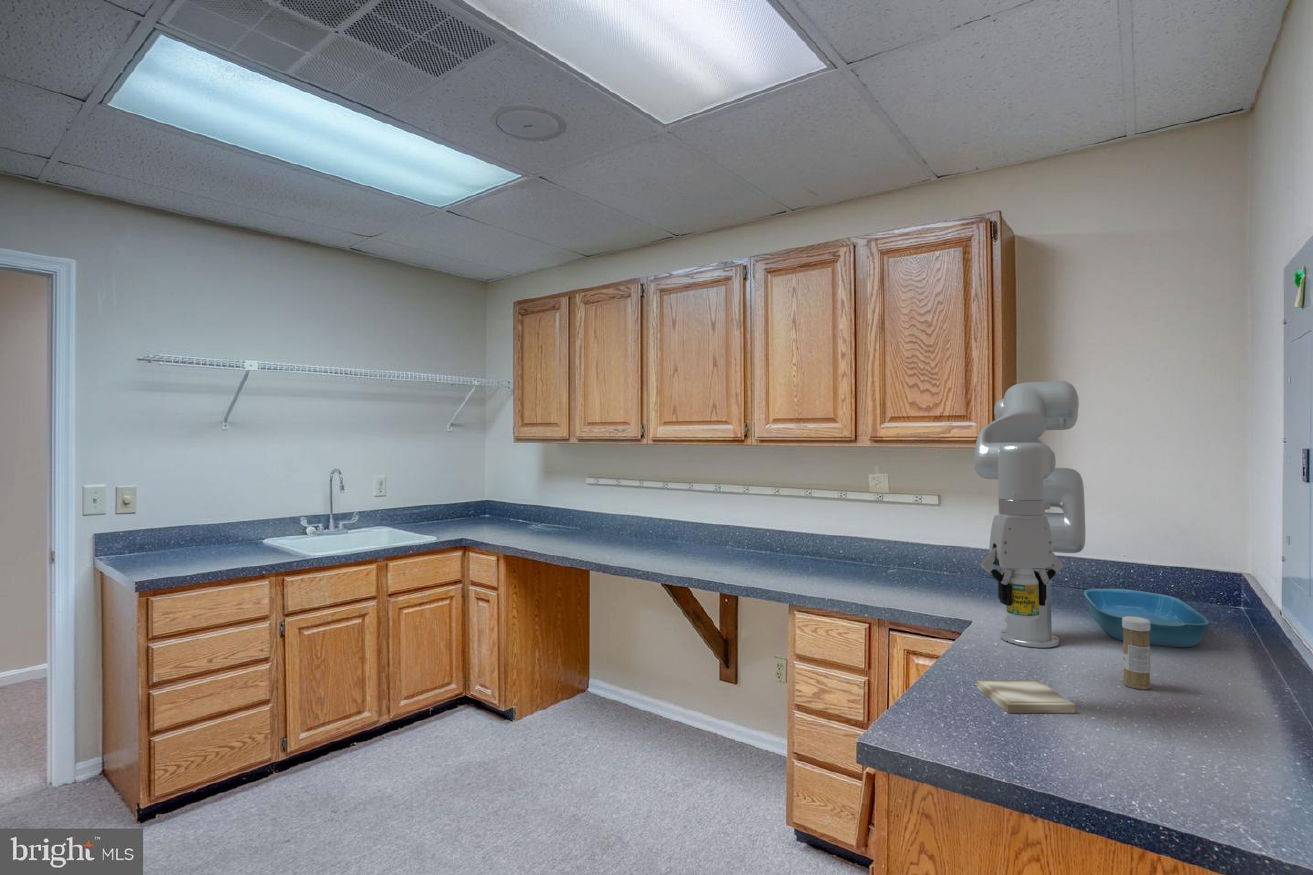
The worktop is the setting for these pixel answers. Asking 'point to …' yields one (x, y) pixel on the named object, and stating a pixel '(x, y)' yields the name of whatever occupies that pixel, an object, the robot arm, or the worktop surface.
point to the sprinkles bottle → (1136, 652)
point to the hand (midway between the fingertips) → (1022, 603)
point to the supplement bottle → (1024, 594)
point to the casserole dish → (1147, 615)
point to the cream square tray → (1025, 696)
